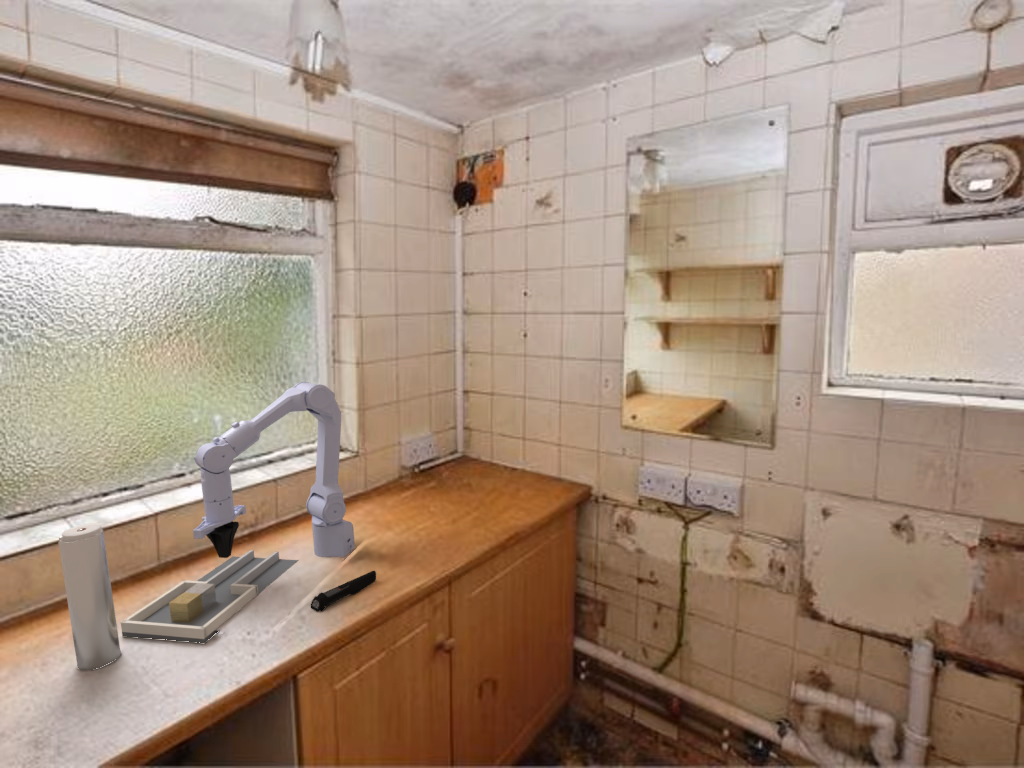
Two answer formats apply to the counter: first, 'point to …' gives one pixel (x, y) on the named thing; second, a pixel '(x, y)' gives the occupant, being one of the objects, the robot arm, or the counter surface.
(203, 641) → the channel board
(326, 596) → the electric trimmer
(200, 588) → the light grey cube
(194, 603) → the mustard yellow cube
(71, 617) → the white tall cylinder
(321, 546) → the robot arm
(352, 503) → the counter surface
